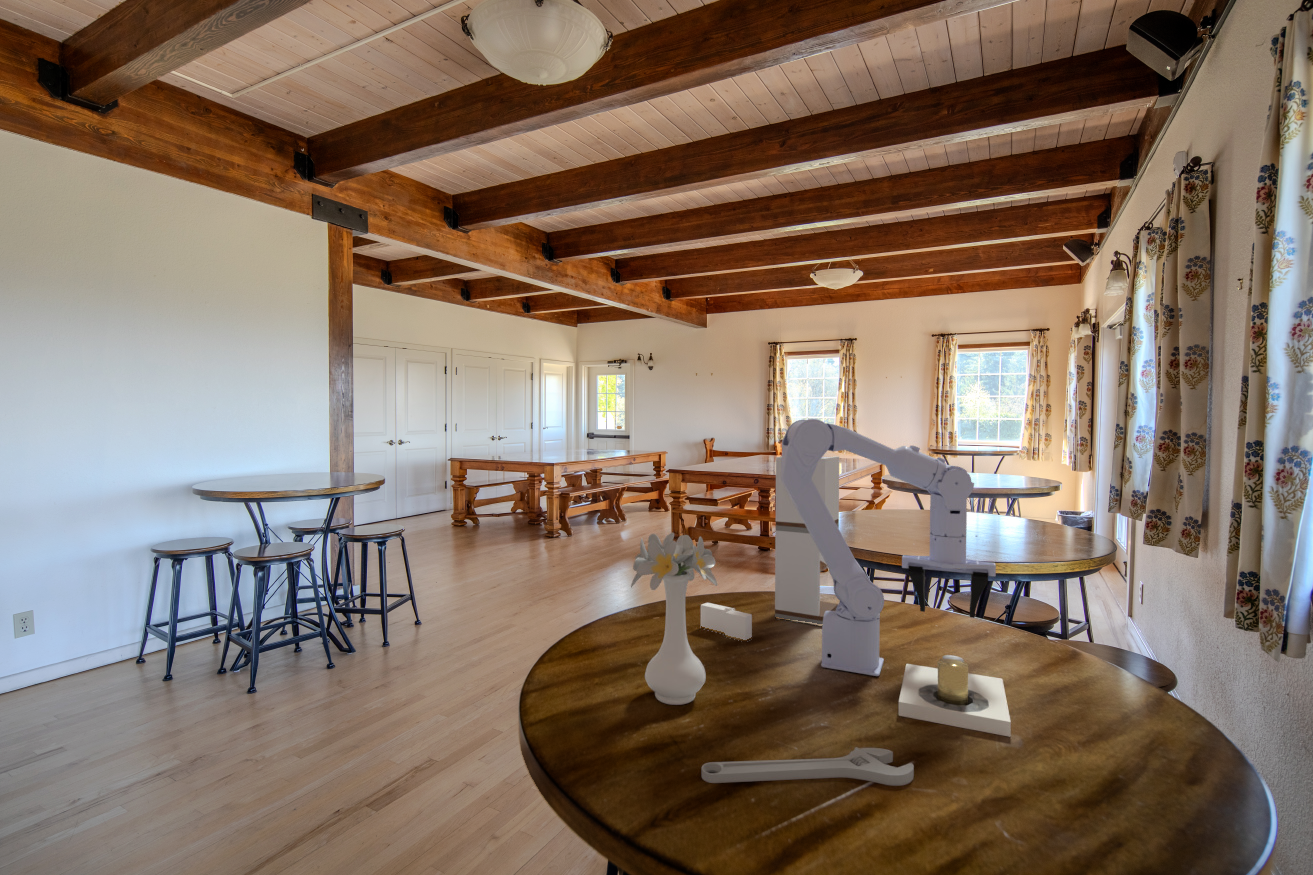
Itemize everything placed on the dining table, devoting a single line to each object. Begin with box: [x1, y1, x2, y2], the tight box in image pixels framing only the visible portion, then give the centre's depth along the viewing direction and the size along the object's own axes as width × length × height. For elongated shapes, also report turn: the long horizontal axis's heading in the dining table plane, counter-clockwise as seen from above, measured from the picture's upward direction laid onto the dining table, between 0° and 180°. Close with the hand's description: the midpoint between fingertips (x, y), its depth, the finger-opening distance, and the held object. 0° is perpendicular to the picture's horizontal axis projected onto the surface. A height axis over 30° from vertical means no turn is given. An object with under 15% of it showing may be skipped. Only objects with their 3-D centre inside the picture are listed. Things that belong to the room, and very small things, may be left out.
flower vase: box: [630, 532, 718, 706], centre depth 95 cm, size 13×18×25 cm
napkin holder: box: [700, 602, 753, 640], centre depth 124 cm, size 15×11×6 cm
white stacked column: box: [774, 455, 840, 624], centre depth 136 cm, size 11×11×35 cm
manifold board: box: [898, 654, 1012, 738], centre depth 93 cm, size 14×16×5 cm
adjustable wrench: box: [701, 746, 915, 787], centre depth 75 cm, size 25×6×2 cm, turn 89°
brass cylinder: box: [937, 658, 969, 706], centre depth 90 cm, size 4×4×7 cm
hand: (947, 612), depth 107 cm, fingers open, 7 cm apart
